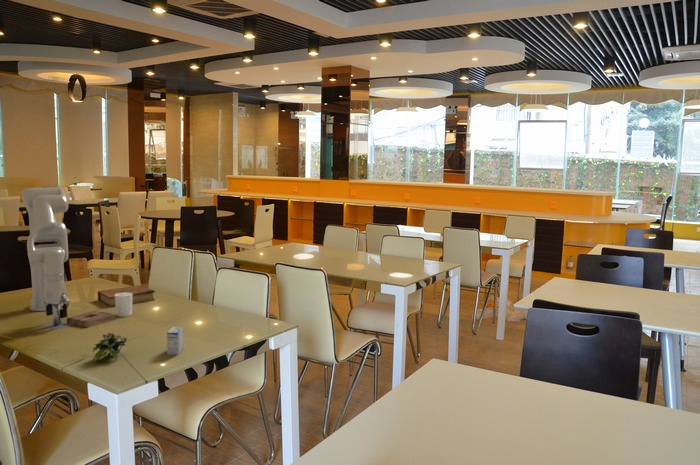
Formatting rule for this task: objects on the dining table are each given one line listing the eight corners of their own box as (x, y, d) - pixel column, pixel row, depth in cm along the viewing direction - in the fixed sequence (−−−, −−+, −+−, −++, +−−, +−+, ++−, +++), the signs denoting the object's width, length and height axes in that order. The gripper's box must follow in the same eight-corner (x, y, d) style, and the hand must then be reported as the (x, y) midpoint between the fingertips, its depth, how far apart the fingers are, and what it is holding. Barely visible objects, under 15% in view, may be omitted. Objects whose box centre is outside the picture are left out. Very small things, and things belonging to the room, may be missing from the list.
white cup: (136, 312, 270) (135, 292, 269) (128, 317, 262) (127, 296, 261) (120, 312, 271) (119, 292, 270) (112, 316, 263) (111, 295, 262)
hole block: (67, 324, 251) (66, 317, 250) (93, 316, 263) (93, 310, 263) (88, 328, 244) (88, 321, 244) (114, 320, 257) (114, 314, 257)
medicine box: (171, 348, 219) (171, 326, 218) (183, 348, 220) (182, 326, 219) (167, 355, 212) (166, 332, 211) (179, 354, 212) (178, 332, 211)
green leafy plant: (109, 369, 211) (124, 339, 216) (123, 371, 204) (137, 340, 209) (82, 358, 204) (97, 327, 209) (95, 360, 197) (111, 328, 202)
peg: (51, 325, 247) (50, 303, 246) (58, 323, 250) (56, 301, 248) (56, 326, 246) (55, 304, 244) (62, 324, 248) (61, 302, 247)
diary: (141, 295, 310) (141, 284, 309) (155, 301, 296) (154, 290, 295) (97, 301, 295) (97, 290, 294) (110, 308, 281) (109, 296, 280)
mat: (37, 327, 246) (37, 326, 246) (58, 321, 255) (58, 320, 255) (56, 330, 240) (55, 329, 240) (76, 324, 249) (76, 324, 249)
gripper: (33, 277, 245) (36, 315, 248) (60, 281, 238) (62, 321, 240) (49, 274, 252) (51, 311, 254) (75, 277, 244) (77, 316, 247)
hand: (56, 316), depth 247 cm, fingers open, 8 cm apart
